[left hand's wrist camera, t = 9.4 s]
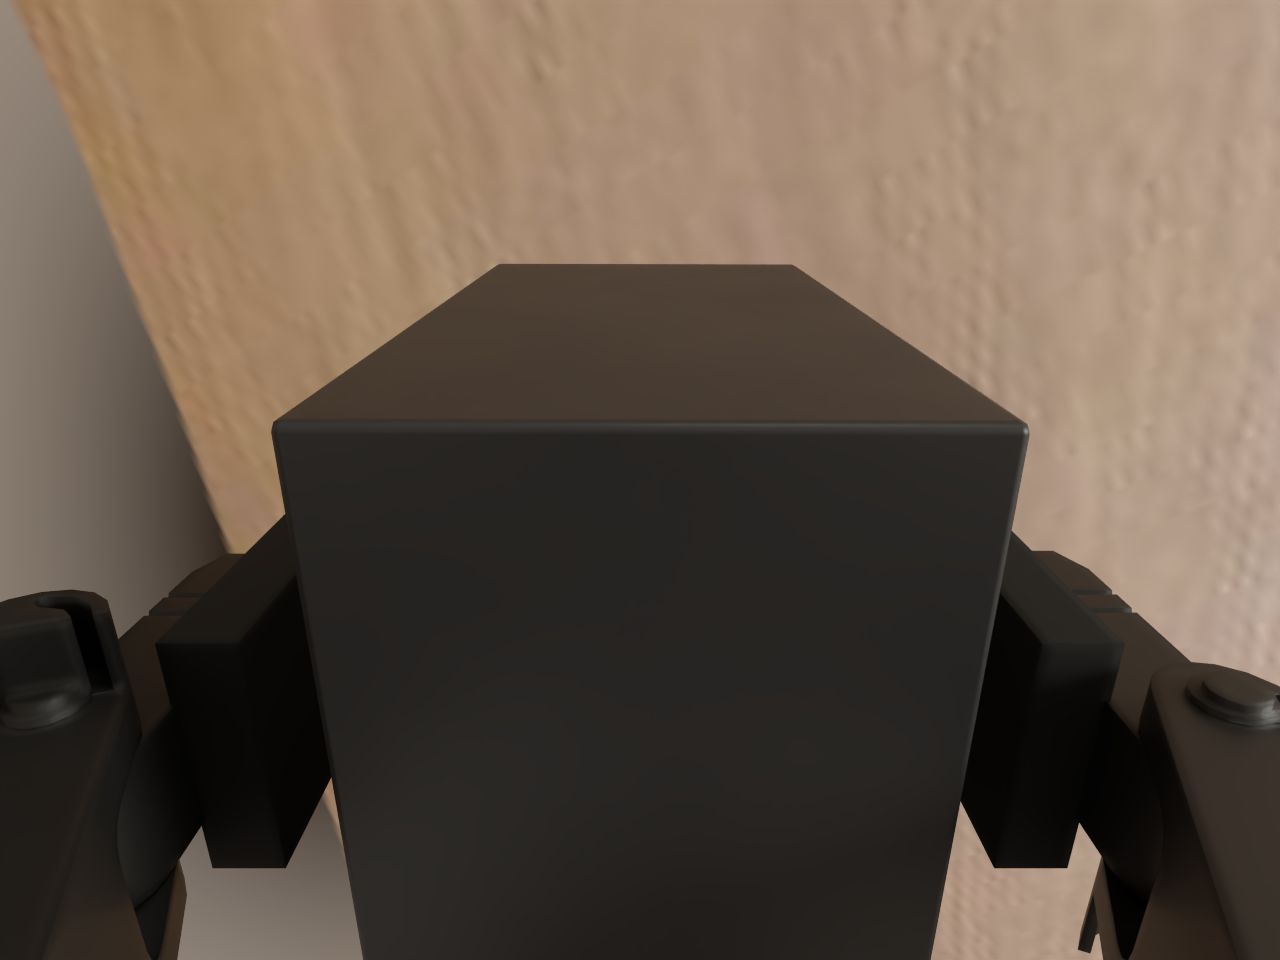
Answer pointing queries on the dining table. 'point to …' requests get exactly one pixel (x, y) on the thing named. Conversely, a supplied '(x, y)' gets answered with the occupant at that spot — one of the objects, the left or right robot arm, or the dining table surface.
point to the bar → (648, 617)
